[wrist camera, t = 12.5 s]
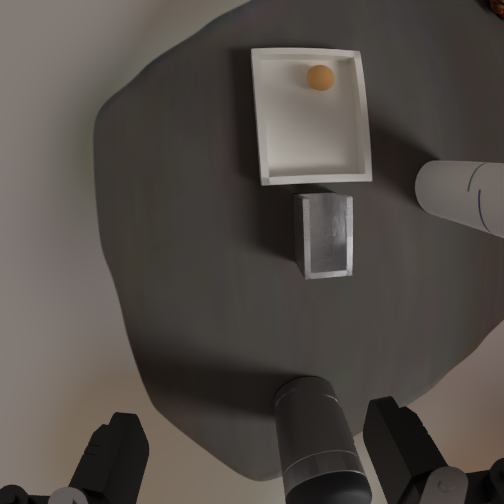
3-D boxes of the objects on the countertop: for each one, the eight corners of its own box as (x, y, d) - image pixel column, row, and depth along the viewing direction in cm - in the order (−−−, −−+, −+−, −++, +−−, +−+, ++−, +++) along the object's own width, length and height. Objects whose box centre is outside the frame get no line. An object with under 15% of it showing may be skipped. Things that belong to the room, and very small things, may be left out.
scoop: (336, 258, 37) (351, 275, 31) (295, 262, 37) (304, 279, 31) (335, 192, 35) (352, 197, 29) (292, 194, 35) (302, 199, 29)
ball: (343, 79, 28) (334, 83, 31) (326, 57, 27) (318, 63, 30) (322, 94, 29) (315, 97, 31) (304, 71, 28) (298, 76, 30)
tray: (362, 179, 35) (372, 181, 32) (260, 184, 35) (261, 185, 32) (351, 59, 31) (359, 51, 28) (250, 57, 31) (251, 48, 28)
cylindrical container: (414, 215, 36) (574, 279, 12) (414, 159, 34) (584, 170, 10) (455, 214, 36) (604, 267, 12) (455, 161, 34) (612, 179, 10)
